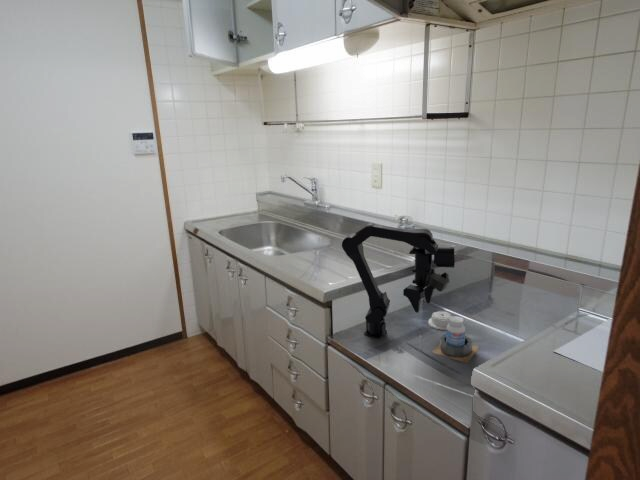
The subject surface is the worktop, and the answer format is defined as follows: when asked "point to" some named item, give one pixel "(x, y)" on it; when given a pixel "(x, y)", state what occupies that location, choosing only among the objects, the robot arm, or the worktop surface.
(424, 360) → the worktop surface
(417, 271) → the robot arm
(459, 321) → the pill bottle
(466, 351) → the ring collar
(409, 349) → the worktop surface
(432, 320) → the mechanical component
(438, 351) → the tan square board
